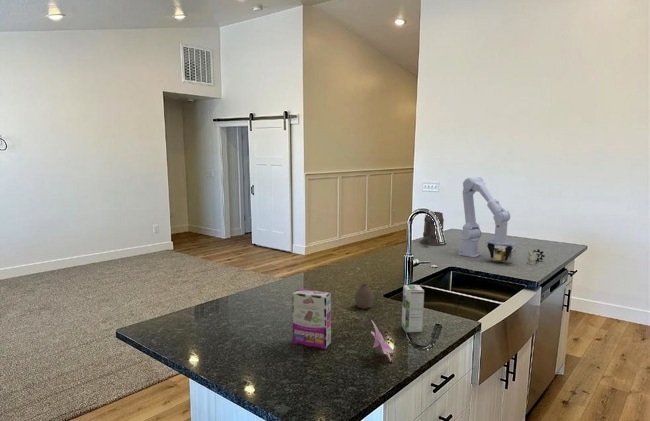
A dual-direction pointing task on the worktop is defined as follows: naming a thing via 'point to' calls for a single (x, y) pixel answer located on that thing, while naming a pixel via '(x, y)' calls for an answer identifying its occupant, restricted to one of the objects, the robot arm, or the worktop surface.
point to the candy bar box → (312, 318)
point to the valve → (534, 256)
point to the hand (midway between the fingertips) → (499, 258)
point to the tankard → (431, 230)
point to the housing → (512, 254)
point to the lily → (380, 342)
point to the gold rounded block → (500, 255)
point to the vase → (363, 297)
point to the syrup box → (412, 308)
